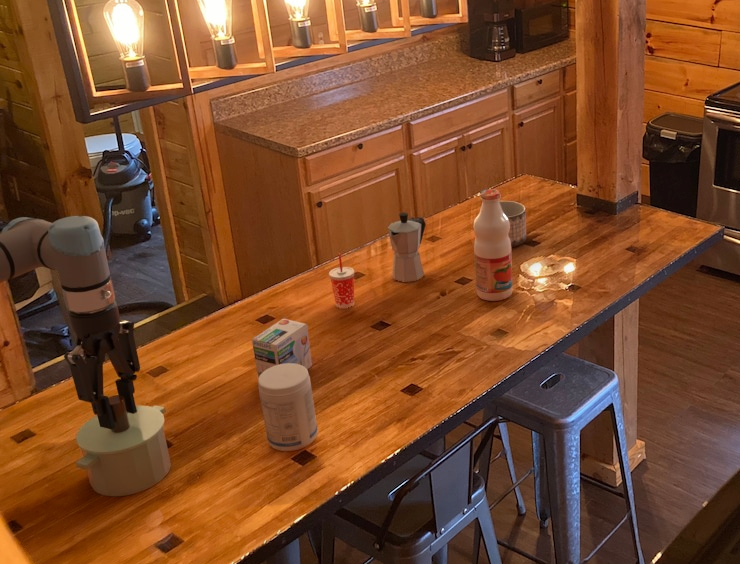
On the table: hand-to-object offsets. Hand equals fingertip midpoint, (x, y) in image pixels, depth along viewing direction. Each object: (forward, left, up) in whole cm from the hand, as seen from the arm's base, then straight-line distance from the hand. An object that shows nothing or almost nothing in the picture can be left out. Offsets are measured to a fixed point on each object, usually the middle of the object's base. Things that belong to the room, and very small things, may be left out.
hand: (118, 418), depth 172 cm
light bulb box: (+6, +39, -12) cm, 41 cm away
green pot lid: (0, 0, -2) cm, 2 cm away
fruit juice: (+33, +90, -12) cm, 97 cm away
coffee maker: (+7, +93, -12) cm, 94 cm away
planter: (+22, +121, -12) cm, 124 cm away
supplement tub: (+22, +19, -12) cm, 32 cm away
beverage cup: (0, +72, -12) cm, 73 cm away
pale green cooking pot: (0, 0, -12) cm, 12 cm away
